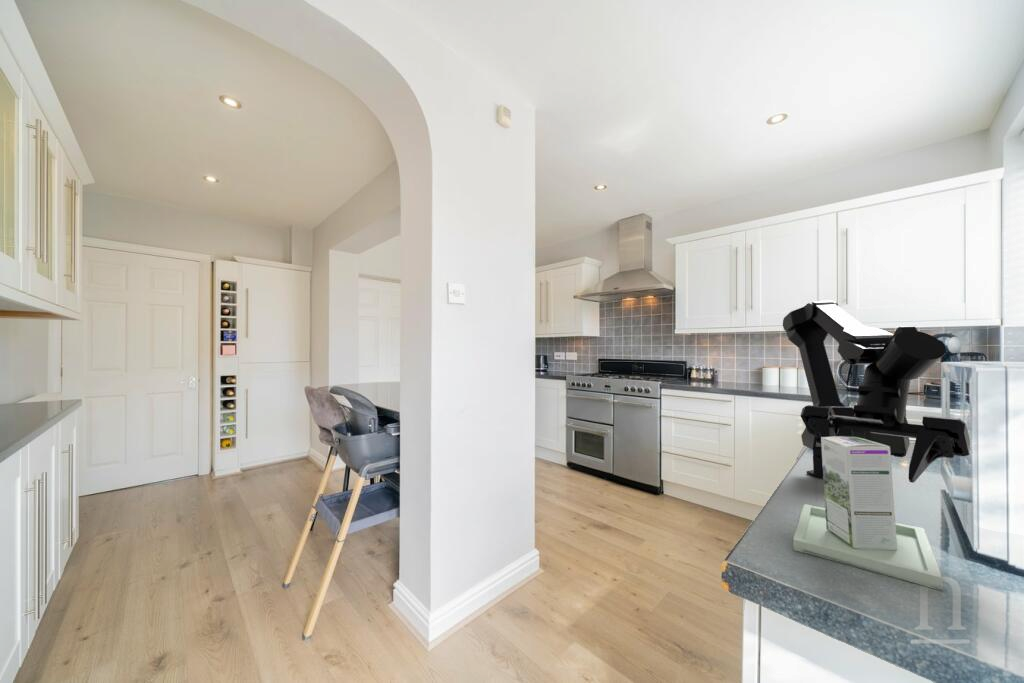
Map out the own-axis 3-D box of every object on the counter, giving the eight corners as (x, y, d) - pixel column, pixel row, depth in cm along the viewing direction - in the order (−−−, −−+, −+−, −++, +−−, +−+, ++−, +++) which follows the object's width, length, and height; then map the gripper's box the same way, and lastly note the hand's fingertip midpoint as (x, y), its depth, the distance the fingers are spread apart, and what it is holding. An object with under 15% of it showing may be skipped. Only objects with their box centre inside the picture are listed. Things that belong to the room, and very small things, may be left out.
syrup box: (899, 551, 51) (894, 445, 51) (851, 549, 52) (846, 444, 52) (866, 531, 57) (861, 435, 57) (823, 529, 57) (819, 435, 58)
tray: (804, 512, 65) (804, 503, 65) (924, 538, 55) (923, 528, 55) (793, 549, 53) (793, 539, 53) (943, 591, 43) (942, 577, 43)
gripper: (977, 431, 58) (971, 522, 52) (827, 415, 74) (808, 484, 67) (967, 384, 54) (959, 477, 48) (810, 378, 69) (788, 448, 63)
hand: (867, 472), depth 56 cm, fingers open, 9 cm apart
